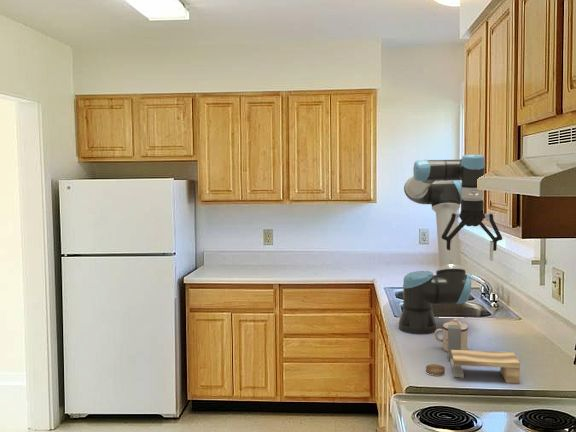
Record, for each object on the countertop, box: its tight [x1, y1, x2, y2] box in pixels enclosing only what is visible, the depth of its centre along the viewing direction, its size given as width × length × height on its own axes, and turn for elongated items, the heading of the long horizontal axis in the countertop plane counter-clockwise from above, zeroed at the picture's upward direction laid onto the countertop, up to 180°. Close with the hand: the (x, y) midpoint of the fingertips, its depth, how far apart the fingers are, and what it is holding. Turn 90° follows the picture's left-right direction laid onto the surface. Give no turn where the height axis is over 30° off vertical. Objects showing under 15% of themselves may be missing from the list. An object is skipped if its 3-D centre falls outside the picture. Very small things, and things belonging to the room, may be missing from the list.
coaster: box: [425, 363, 446, 376], centre depth 194 cm, size 6×6×2 cm
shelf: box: [451, 349, 521, 384], centre depth 191 cm, size 10×20×6 cm, turn 80°
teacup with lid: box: [433, 317, 469, 353], centre depth 215 cm, size 12×9×12 cm
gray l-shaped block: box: [447, 325, 465, 379], centre depth 198 cm, size 18×4×12 cm, turn 170°
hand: (471, 259), depth 205 cm, fingers open, 13 cm apart
